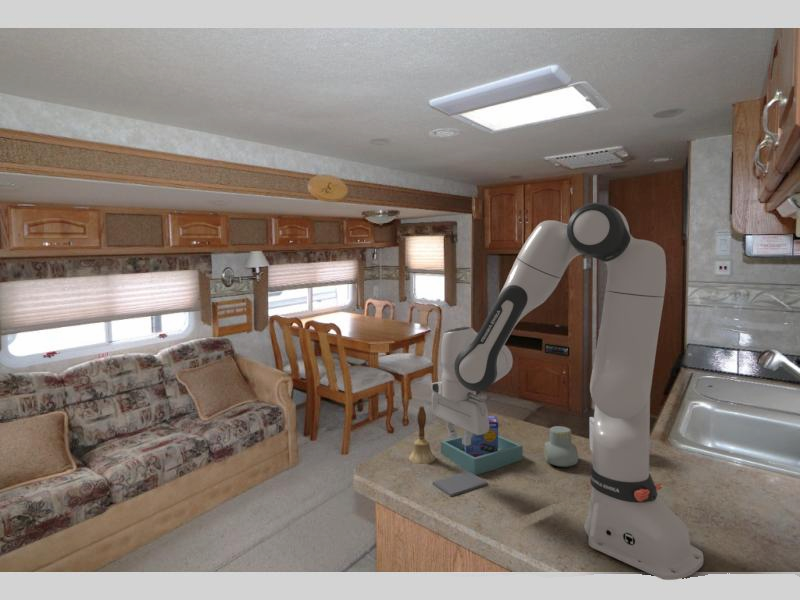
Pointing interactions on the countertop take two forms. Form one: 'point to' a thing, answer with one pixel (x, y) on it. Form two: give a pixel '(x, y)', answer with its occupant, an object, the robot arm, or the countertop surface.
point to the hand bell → (421, 443)
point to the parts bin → (486, 462)
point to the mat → (459, 483)
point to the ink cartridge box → (484, 440)
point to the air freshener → (560, 448)
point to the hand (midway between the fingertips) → (459, 441)
